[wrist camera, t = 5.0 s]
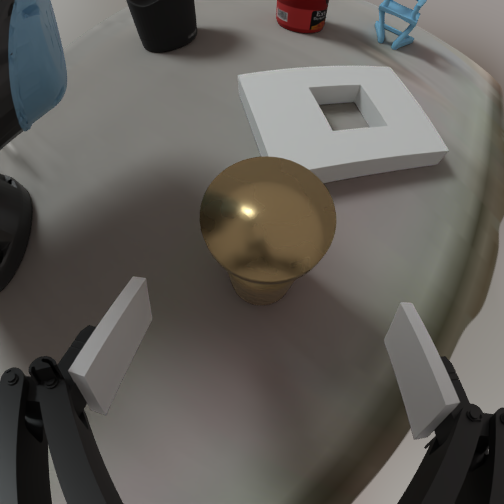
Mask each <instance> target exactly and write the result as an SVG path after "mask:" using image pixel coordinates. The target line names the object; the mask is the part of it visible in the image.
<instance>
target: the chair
mask: <svg viewBox="0 0 504 504" xmlns="http://www.w3.org/2000/svg"><path fill="white" fill-rule="evenodd" d="M417 1H418V3H417V4H416V6H415V7H414V10H412V9H409V8H407V7H405V6H402V5H400V4H398V3H397V2H395V1H393V0H384V2H383V3H381V4H380V6H379V21H376V23H375V28H376V32H377V37H378V42H379V43H383V41H384V38H385V31H384V28H385V29H387V30H389V31H391V32H393V33H395V34H397V35H399V37H398V38H397V39H396V40H395V41H394V42H393V44H392V47H391V48H392V49H394V50H396V49H398V48H400V47H402V46H405V45H408V44H410V43H412V42H413V40H414V38H413V37H411V36H409V35H408V34H409V33H410V32H411V31H412V29H413V28H414V27H415V26H416V24H417V21H418V18H419V16H420V13H418V11H419V10H420V8H421V7H422V6H423V5H424V4H425V3H426V1H427V0H417ZM385 12H386V13H389V14H392V15H395V16H397V17H399V18H401V19H403V20H404V21H406V22H408V23H410V25H409V26H408V28H407V29H406V30H405V31H404V32H401V31H399V30H397V29H395V28H392V27H390V26H388V25H386V24H384V16H385ZM404 38H405V39H404Z"/></svg>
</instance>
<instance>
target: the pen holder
mask: <svg viewBox="0 0 504 504" xmlns="http://www.w3.org/2000/svg"><path fill="white" fill-rule="evenodd" d="M127 3H128V6H129V9H130V12H131V15H132V17H133V20H134V23H135V26H136V28H137V31H138V34H139V36H140V39H141V41H142V44H143V46H144V48H145V49H147V50H149V51H151V52H166V51H171V50H174V49H177V48H180V47H182V46H184V45H186V44H188V43H189V42H191V41H192V40H193V39H194V38H195V36H196V34H197V26H196V14H195V5H194V0H127Z"/></svg>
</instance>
